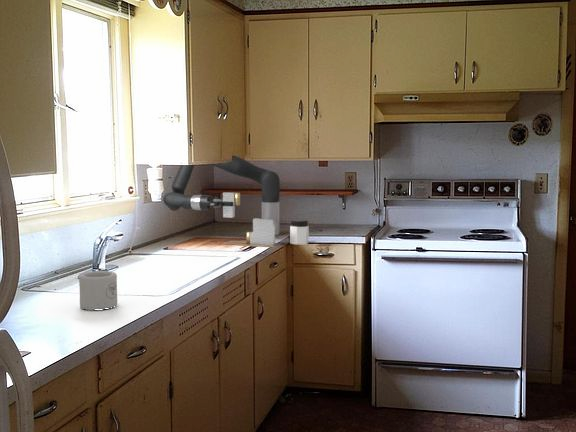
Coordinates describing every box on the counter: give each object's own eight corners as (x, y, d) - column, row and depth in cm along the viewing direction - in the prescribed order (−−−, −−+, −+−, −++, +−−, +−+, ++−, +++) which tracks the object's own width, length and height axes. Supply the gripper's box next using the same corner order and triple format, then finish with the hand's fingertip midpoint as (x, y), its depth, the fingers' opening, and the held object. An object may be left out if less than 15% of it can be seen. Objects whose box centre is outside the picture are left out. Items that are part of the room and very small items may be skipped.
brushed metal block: (223, 217, 336) (222, 192, 334) (225, 216, 338) (224, 192, 337) (239, 217, 333) (238, 193, 332) (241, 217, 335) (240, 192, 334)
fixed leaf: (247, 243, 324) (247, 217, 322) (275, 244, 319) (275, 219, 318) (245, 244, 321) (245, 218, 320) (273, 245, 317) (273, 219, 315)
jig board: (230, 243, 332) (230, 240, 332) (281, 246, 323) (281, 243, 323) (220, 246, 320) (220, 244, 320) (272, 250, 312) (272, 247, 312)
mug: (102, 312, 198) (101, 278, 197) (72, 309, 202) (71, 275, 201) (129, 302, 211) (129, 270, 210) (100, 299, 215) (99, 267, 214)
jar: (286, 245, 326) (286, 220, 325) (298, 243, 331) (299, 218, 330) (299, 247, 319) (299, 221, 318) (312, 245, 325) (312, 220, 324)
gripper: (195, 196, 333) (228, 197, 327) (208, 193, 346) (239, 194, 341) (195, 211, 334) (228, 212, 328) (208, 208, 347) (239, 210, 341)
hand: (234, 203), depth 334 cm, fingers closed on brushed metal block, 2 cm apart
